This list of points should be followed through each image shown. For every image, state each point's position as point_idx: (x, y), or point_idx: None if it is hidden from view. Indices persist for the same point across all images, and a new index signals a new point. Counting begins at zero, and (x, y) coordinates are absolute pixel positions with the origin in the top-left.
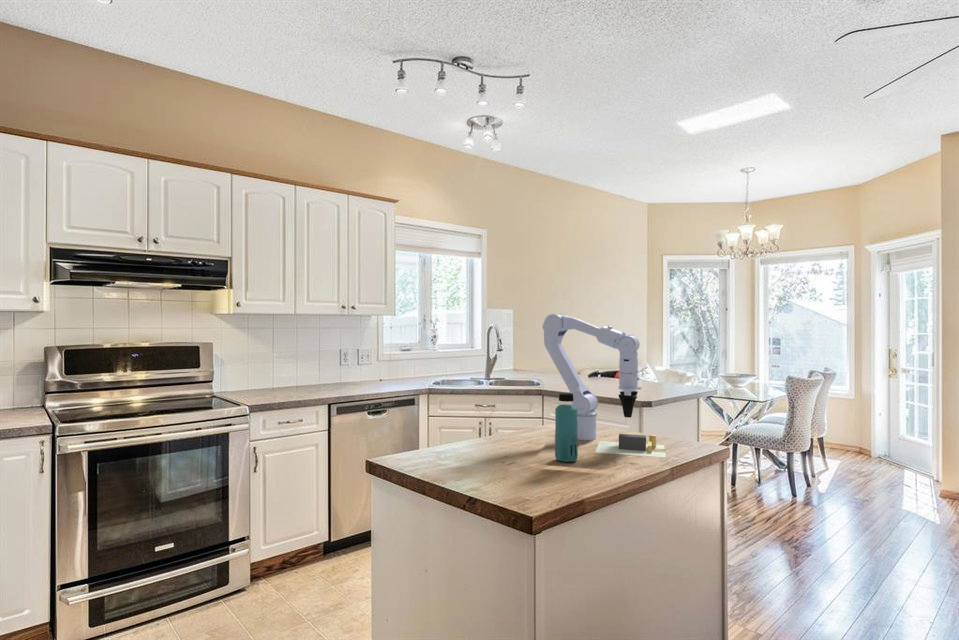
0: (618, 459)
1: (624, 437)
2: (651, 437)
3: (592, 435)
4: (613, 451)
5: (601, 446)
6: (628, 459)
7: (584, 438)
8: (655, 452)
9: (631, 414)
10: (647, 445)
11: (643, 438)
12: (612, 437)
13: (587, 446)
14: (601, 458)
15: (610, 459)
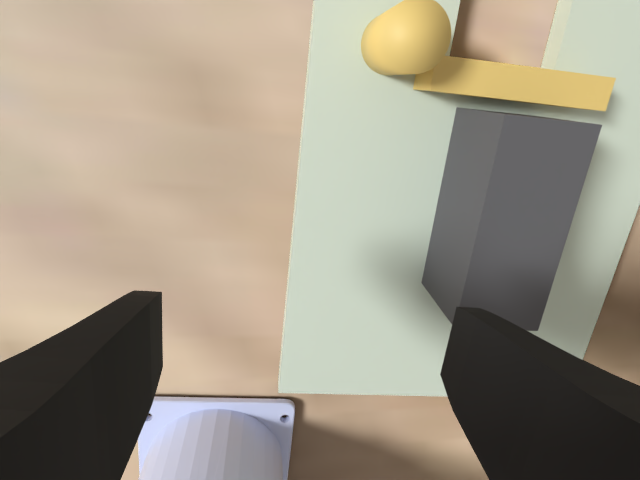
0: (633, 280)
1: (546, 289)
2: (441, 53)
3: (262, 452)
4: (550, 314)
5: (431, 376)
6: (637, 229)
7: (282, 474)
8: (577, 49)
9: (506, 324)
10: (356, 83)
11: (589, 145)
12: (35, 311)
13: (354, 431)
14: (609, 357)
15: (631, 318)
